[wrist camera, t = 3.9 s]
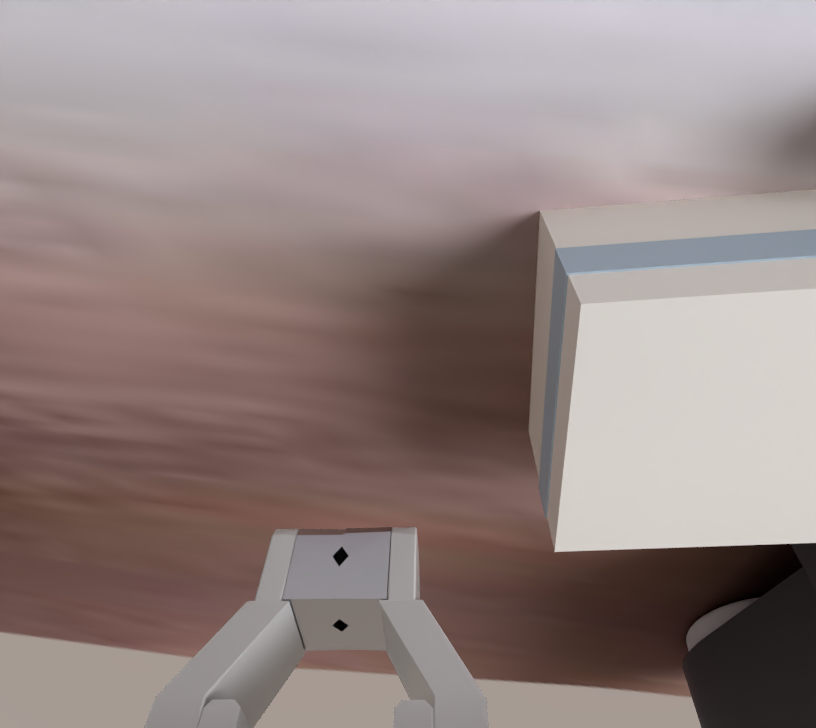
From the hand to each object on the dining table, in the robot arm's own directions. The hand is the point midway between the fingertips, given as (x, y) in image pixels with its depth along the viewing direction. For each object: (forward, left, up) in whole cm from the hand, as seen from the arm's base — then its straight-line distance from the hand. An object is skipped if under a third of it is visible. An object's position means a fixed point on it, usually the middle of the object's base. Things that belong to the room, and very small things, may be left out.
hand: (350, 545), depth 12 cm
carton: (-1, +9, -7) cm, 11 cm away
